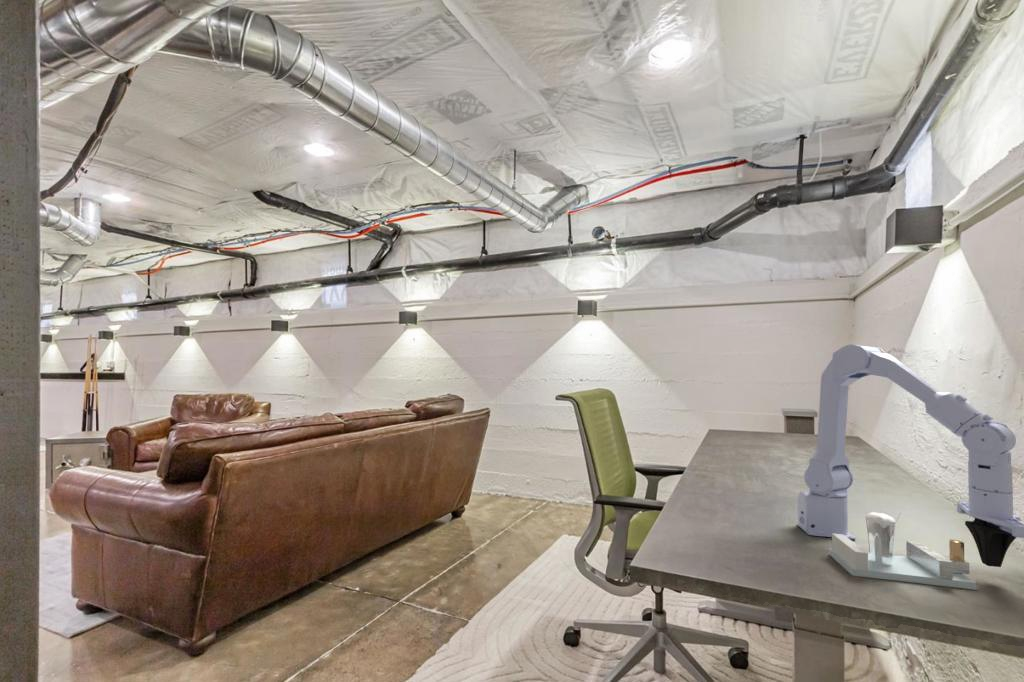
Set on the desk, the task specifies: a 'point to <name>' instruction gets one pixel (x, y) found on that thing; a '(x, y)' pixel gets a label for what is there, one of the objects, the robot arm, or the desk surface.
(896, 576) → the pale blue stepped plate
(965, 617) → the desk surface
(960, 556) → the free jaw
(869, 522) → the milkshake
